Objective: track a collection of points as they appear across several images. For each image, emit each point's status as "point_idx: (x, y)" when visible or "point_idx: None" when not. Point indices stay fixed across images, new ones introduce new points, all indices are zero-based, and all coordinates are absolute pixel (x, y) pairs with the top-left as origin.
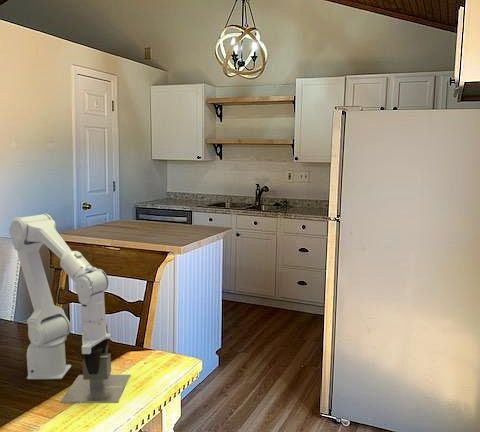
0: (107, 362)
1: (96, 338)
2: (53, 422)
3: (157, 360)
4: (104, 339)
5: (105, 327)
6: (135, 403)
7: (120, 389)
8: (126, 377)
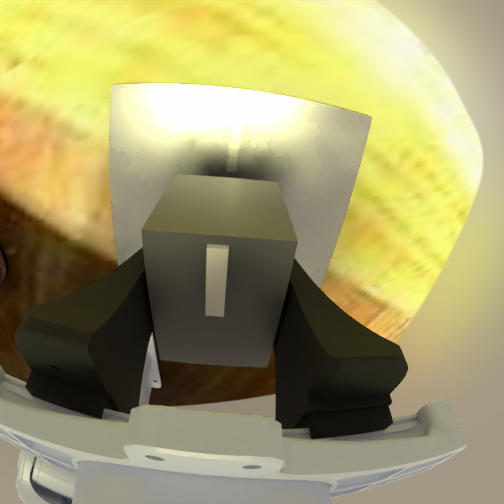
0: (264, 224)
1: (328, 489)
2: (408, 297)
3: (5, 25)
4: (101, 371)
5: None
6: (389, 47)
7: (265, 105)
8: (138, 95)
